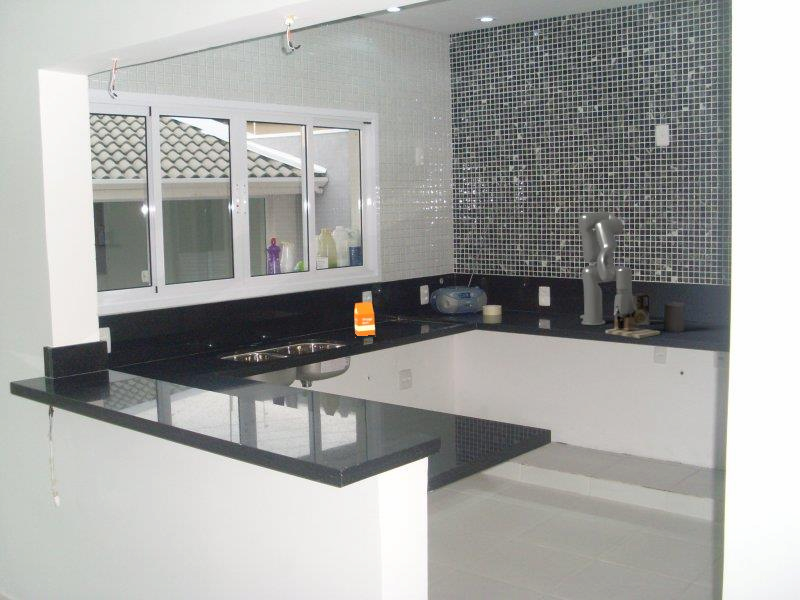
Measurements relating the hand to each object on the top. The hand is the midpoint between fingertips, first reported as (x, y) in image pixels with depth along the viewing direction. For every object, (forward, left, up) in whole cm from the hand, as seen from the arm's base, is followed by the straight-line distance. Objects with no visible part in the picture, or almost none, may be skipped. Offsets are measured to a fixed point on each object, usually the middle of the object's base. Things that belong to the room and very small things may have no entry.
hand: (624, 327), depth 441 cm
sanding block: (0, 0, -1) cm, 1 cm away
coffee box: (-11, +24, -3) cm, 27 cm away
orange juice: (-82, -104, -3) cm, 133 cm away
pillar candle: (+14, +21, -3) cm, 25 cm away
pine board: (+5, 0, -3) cm, 6 cm away
